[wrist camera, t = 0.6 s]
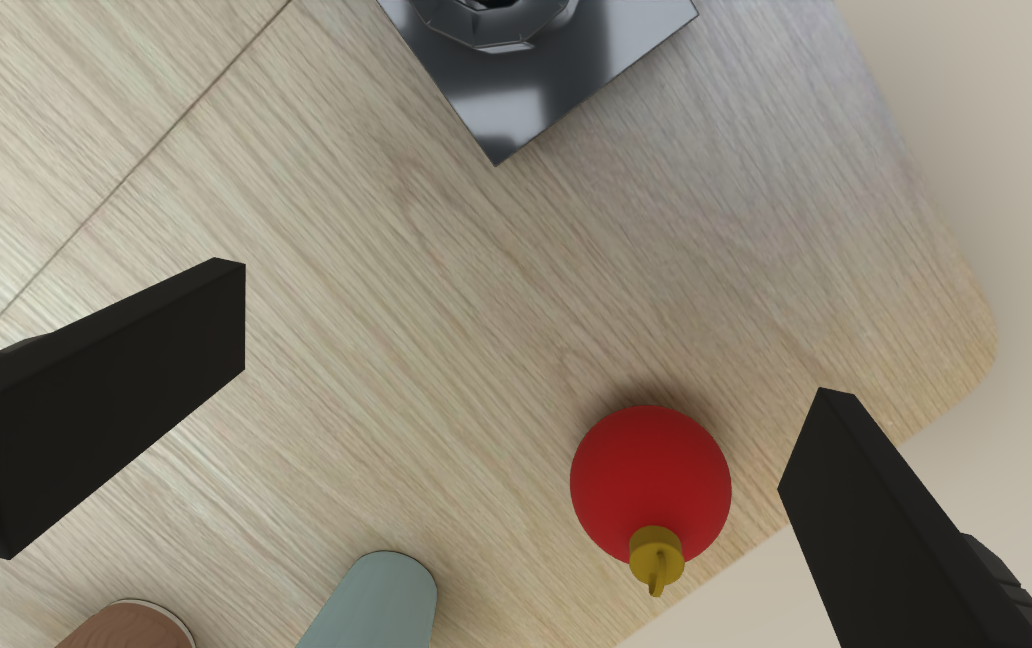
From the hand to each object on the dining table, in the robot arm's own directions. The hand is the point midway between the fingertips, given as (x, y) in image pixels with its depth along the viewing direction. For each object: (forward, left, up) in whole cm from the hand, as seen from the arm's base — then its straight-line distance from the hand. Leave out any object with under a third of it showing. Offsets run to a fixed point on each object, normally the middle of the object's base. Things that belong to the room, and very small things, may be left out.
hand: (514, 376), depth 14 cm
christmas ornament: (+10, +6, -15) cm, 19 cm away
